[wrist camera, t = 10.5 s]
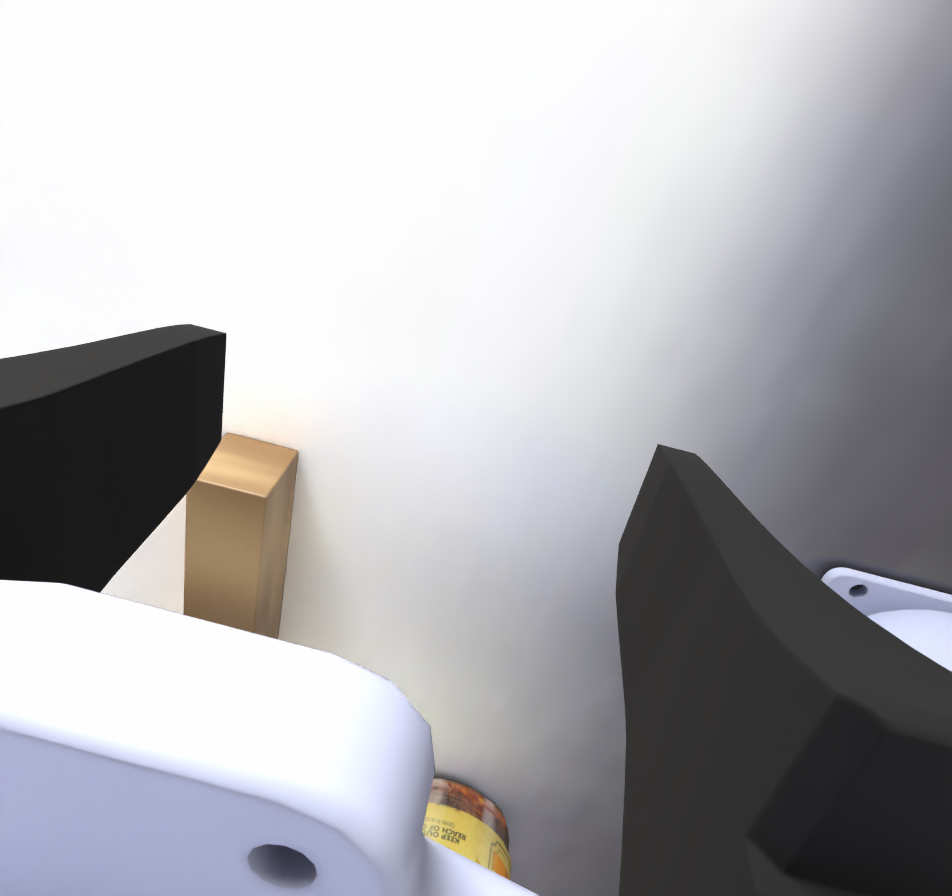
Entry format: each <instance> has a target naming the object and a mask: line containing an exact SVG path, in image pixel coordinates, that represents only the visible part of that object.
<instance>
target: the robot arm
mask: <svg viewBox="0 0 952 896" xmlns="http://www.w3.org/2000/svg"><path fill="white" fill-rule="evenodd" d="M225 352H226V333H223V332H219V331H215V330H211V329H207V328H203V327H199V326H195V325H191V324H186V325H174V326H168V327H162V328H156V329H151V330H146V331H141V332H137V333H132V334H127V335H123V336H118V337H114V338H109V339H104V340H100V341H95V342H91V343H86V344H81V345H76V346H71V347H65V348H60V349H54V350H49V351H44V352H38V353H33V354H27V355H22V356H16V357H9V358H3V359H0V896H539V895H537V894H535V893H533V892H531V891H529V890H528V889H526V888H524V887H522V886H520V885H518V884H516V883H514V882H512V881H510V880H508V879H506V878H504V877H503V876H501V875H499V874H497V873H495V872H493V871H491V870H489V869H487V868H485V867H483V866H481V865H479V864H478V863H476V862H474V861H472V860H470V859H468V858H466V857H464V856H462V855H460V854H458V853H456V852H455V851H453V850H451V849H449V848H447V847H445V846H443V845H441V844H439V843H437V842H435V841H433V840H431V839H430V838H428V837H426V836H424V834H423V831H422V829H423V824H424V819H425V815H426V810H427V805H428V801H429V796H430V792H431V787H432V782H433V778H434V773H435V763H434V754H433V745H432V736H431V727H430V725H429V724H428V723H427V722H426V720H425V719H424V718H423V717H422V716H421V715H420V713H419V712H418V711H417V710H416V709H415V708H414V707H413V705H412V704H411V703H410V702H409V701H408V700H407V698H406V697H405V696H404V695H403V694H402V693H401V691H400V690H399V689H398V688H397V687H396V686H395V685H394V683H392V682H391V681H390V680H388V679H386V678H384V677H382V676H380V675H378V674H376V673H373V672H371V671H369V670H367V669H365V668H363V667H361V666H359V665H356V664H354V663H352V662H350V661H348V660H346V659H344V658H342V657H340V656H337V655H335V654H331V653H328V652H324V651H320V650H316V649H312V648H308V647H305V646H301V645H297V644H293V643H289V642H286V641H282V640H278V639H274V638H270V637H267V636H263V635H259V634H255V633H251V632H247V631H244V630H240V629H236V628H232V627H228V626H225V625H221V624H217V623H213V622H209V621H205V620H202V619H198V618H194V617H190V616H186V615H183V614H179V613H175V612H171V611H167V610H163V609H160V608H156V607H152V606H148V605H144V604H141V603H137V602H133V601H129V600H125V599H121V598H118V597H114V596H110V595H106V594H102V593H100V592H101V591H102V589H103V588H104V587H105V586H106V585H107V583H108V582H109V581H110V580H111V578H112V577H113V576H114V575H115V574H116V572H117V571H118V570H119V569H120V568H121V567H122V566H123V565H124V563H125V562H126V561H127V560H128V559H129V558H130V557H131V556H132V554H133V553H134V552H135V551H136V550H137V549H138V548H139V547H140V545H141V544H142V543H143V542H144V541H145V540H146V539H147V538H148V536H149V535H150V534H151V533H152V532H153V531H154V530H155V529H156V527H157V526H158V525H159V524H160V523H161V522H162V521H163V520H164V518H165V517H166V516H167V515H168V514H169V513H170V512H171V510H172V509H173V508H174V507H175V506H176V505H177V504H178V502H179V501H180V500H181V499H182V498H183V497H184V495H185V494H186V493H187V492H188V491H189V490H190V488H191V487H192V486H193V485H194V483H195V482H196V480H197V479H198V477H199V476H200V474H201V473H202V471H203V470H204V468H205V467H206V465H207V463H208V462H209V460H210V459H211V457H212V455H213V454H214V452H215V450H216V449H217V447H218V445H219V444H220V442H221V434H222V413H223V393H224V373H225ZM855 585H863V586H862V587H861V588H859V589H856V590H850V588H852V587H853V586H855ZM616 605H617V618H618V631H619V643H620V654H621V665H622V677H623V688H624V700H625V715H626V761H625V794H624V814H623V834H622V855H621V869H620V884H619V896H952V595H950V594H946V593H942V592H938V591H934V590H931V589H927V588H923V587H919V586H915V585H911V584H907V583H903V582H899V581H896V580H892V579H888V578H884V577H880V576H876V575H872V574H868V573H865V572H861V571H857V570H853V569H849V568H843V567H838V568H833V569H831V570H829V571H828V572H827V573H826V574H825V575H824V576H823V578H822V579H821V580H820V579H819V578H818V577H816V576H815V575H814V574H813V573H812V572H811V571H810V570H808V569H807V568H806V567H805V566H804V565H803V564H802V563H801V562H800V561H799V560H797V559H796V558H795V557H794V556H793V555H792V554H791V553H790V552H789V551H788V550H787V549H786V548H785V547H784V546H783V545H782V544H781V543H780V542H779V541H778V540H777V539H776V538H775V537H774V536H773V535H772V534H771V533H770V532H769V531H768V530H767V529H766V528H765V527H764V526H763V525H762V524H761V523H760V522H759V521H758V520H757V519H756V518H755V517H754V516H753V515H752V513H751V512H750V511H749V510H748V509H747V508H746V507H745V506H744V505H743V504H742V503H741V501H740V500H739V499H738V498H737V497H736V496H735V495H734V494H733V493H732V492H731V490H730V489H729V488H728V487H727V486H726V485H725V484H724V483H723V481H722V480H721V479H720V478H719V477H718V476H717V475H716V474H715V473H714V472H713V470H712V469H711V468H710V467H709V466H708V465H707V464H706V463H705V462H704V461H703V460H702V459H701V458H700V457H698V456H697V455H696V454H694V453H690V452H687V451H683V450H679V449H675V448H671V447H667V446H663V445H659V444H658V446H657V448H656V451H655V453H654V456H653V458H652V461H651V463H650V466H649V469H648V471H647V474H646V476H645V479H644V481H643V484H642V486H641V489H640V492H639V494H638V497H637V499H636V502H635V504H634V507H633V509H632V512H631V515H630V517H629V520H628V522H627V525H626V527H625V530H624V533H623V535H622V538H621V540H620V543H619V552H618V565H617V580H616Z"/></svg>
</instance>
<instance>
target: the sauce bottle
mask: <svg viewBox="0 0 952 896" xmlns="http://www.w3.org/2000/svg"><path fill="white" fill-rule="evenodd" d="M422 831H423V834H424V836H426V837H428V838H430V839H431V840H433V841H435V842H437V843H439V844H441V845H443V846H445V847H447V848H449V849H451V850H453V851H455V852H456V853H458V854H460V855H462V856H464V857H466V858H468V859H470V860H472V861H474V862H476V863H478V864H479V865H481V866H483V867H485V868H487V869H489V870H491V871H493V872H495V873H497V874H499V875H501V876H503V877H504V878H506V879H508V880H510V874H511V859H510V856H509V854H508V853H509V849H508V844H509V837H508V828H507V826H506V821H505V818H504V817H503V814H502V811H501V810H500V809H499V807H498V806H497V805H496V804H495V802H493V801H491V800H489V799H487V798H485V797H484V796H483V795H482V794H480V793H479V792H477V791H476V790H474V789H473V788H471V787H469V786H466V785H463V784H460V783H457V782H455V781H452V780H446V779H444V778H433V782H432V787H431V792H430V796H429V801H428V805H427V810H426V815H425V819H424V824H423V829H422Z"/></svg>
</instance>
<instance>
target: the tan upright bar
mask: <svg viewBox="0 0 952 896" xmlns="http://www.w3.org/2000/svg"><path fill="white" fill-rule="evenodd" d="M297 462H298V451H297V450H293V449H289V448H285V447H281V446H278V445H274V444H270V443H266V442H262V441H258V440H254V439H250V438H247V437H243V436H239V435H235V434H231V433H226V434H225V435H224V437H223V438H222V439H221V442H220V444H219V445H218V447H217V449H216V450H215V452H214V454H213V455H212V457H211V459H210V460H209V462H208V463H207V465H206V467H205V468H204V470H203V471H202V473H201V474H200V476H199V477H198V479H197V480H196V482H195V483H194V485H193V486H192V487H191V488H190V490H189V491H188V492H187V493H186V530H185V575H184V615H186V616H190V617H194V618H198V619H202V620H205V621H209V622H213V623H217V624H221V625H225V626H228V627H232V628H236V629H240V630H244V631H247V632H251V633H255V634H259V635H263V636H267V637H270V638H274V639H278V635H279V626H280V617H281V607H282V598H283V589H284V580H285V571H286V562H287V553H288V544H289V535H290V526H291V517H292V507H293V498H294V489H295V480H296V471H297Z"/></svg>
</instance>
